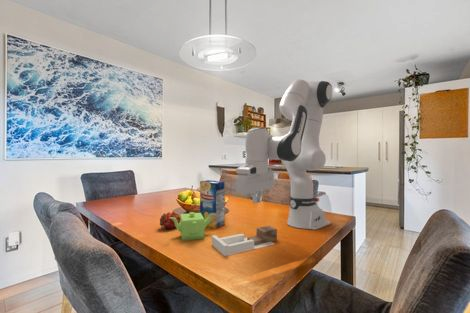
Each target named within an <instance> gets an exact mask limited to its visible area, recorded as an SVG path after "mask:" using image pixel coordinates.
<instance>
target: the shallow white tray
mask: <svg viewBox="0 0 470 313" xmlns="http://www.w3.org/2000/svg"><path fill="white" fill-rule="evenodd" d="M272 245H275V243H274V241H271V242H267V243H263V244H259V245H254V240H247V237H245V234H244V233H240V234H233V235H228V236H223V237H218V235H216V234H214V235H211V246H212V247H214V249H215V250H217V251H218V252H219V253H220V255H222V256H224V257H226V256H227V257H228V256H230V255H231V256H232V255H235V254H239V253H243V252H249V251H251V250H256V249H260V248H264V247H269V246H272Z"/></svg>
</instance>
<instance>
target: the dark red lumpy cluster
mask: <svg viewBox="0 0 470 313" xmlns="http://www.w3.org/2000/svg"><path fill="white" fill-rule="evenodd" d="M160 216H161V217H160V218H159V226H160V227H161V228H164V229H165V230H168V229H174V228H176V226H175V223H174V221H173V220H172V219H170V217H175V218H176V219H177V221H178V223H179V224H180V223H181V220H180V214H179V213H175V211H173V212H170V211H168V212H166V213H163V214H162V215H160Z"/></svg>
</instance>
